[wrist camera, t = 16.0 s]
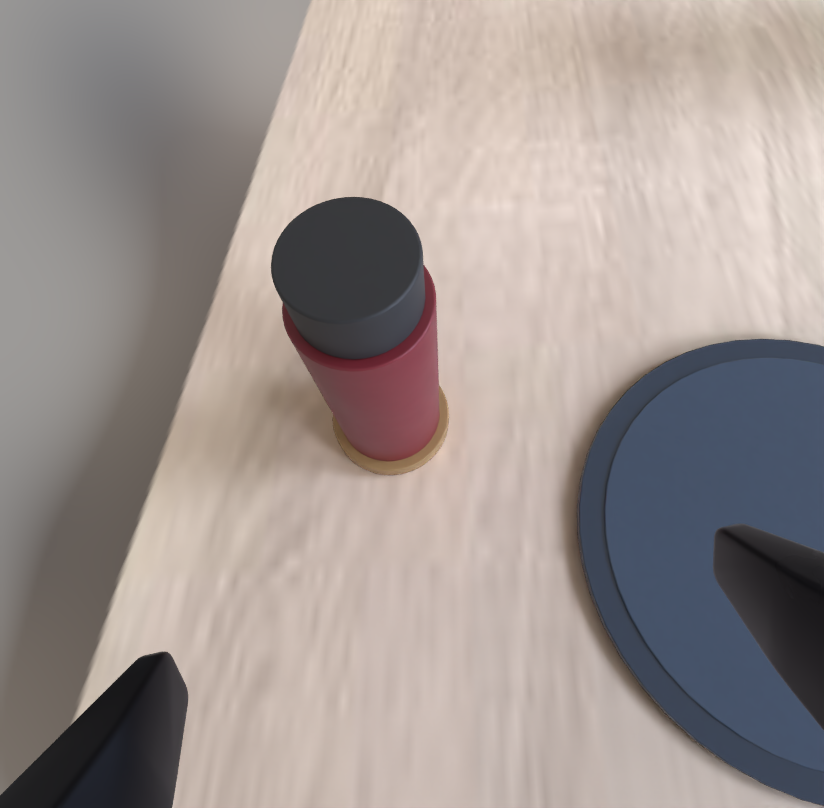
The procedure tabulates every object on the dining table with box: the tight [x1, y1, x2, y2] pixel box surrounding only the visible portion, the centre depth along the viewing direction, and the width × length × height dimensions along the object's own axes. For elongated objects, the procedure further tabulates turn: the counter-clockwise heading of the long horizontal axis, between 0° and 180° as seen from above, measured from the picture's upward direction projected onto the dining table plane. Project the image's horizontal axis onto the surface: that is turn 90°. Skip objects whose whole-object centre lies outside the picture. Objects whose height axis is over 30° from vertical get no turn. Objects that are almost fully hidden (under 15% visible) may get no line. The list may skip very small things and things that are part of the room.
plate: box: [577, 339, 824, 806], centre depth 21 cm, size 18×18×1 cm
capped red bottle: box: [271, 197, 449, 475], centre depth 19 cm, size 5×5×12 cm
